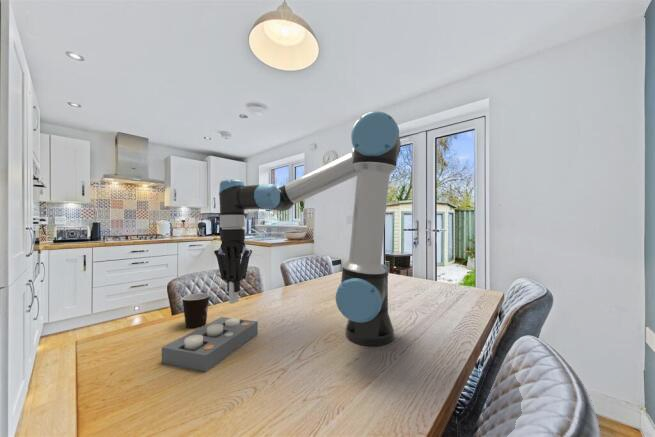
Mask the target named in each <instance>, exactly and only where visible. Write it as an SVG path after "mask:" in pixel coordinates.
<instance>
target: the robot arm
mask: <svg viewBox="0 0 655 437" xmlns="http://www.w3.org/2000/svg"><path fill="white" fill-rule="evenodd" d="M350 135H351V136H350V137H351V144H352V147H353V148H352V149H351V151H350V153H348V154H345V155H344V156H342V157H340V158H337V159H335V160H333V161H331V162H329V163H327V164H325V165H323V166H321V167H319V168H317V169H314V170H313V171H310V172H308V173H307V174H304V175H302V176H300V177H298V178H296V179H294V180H292V181H290V182H287V183H286V184H284V185H282V186H280V187H277V186H276V185H275V184H273V183H272V184H271V183H261V184H252V185H245V184H244V181H242V180H240V179H223V180H221V181H220V183H219V192H218V196H219V227H220V228H221V229H220V230H219V234H220V235H219V240H220V242H221V244H220V247H219V248H218V249H215V250H214V251H213V254H214V255H215V257H216V260H217V264H218V270H219V274H220V278H221V280H222V281H225V282H226V291H227V292H228V303H229V304H236V303H237V302H239V292H240V291H241V281H243V280H245V279H246V278H247V271H248V267H249V261H250V257H251V256H252V254H253V250H252V249H248V248H247V247H246V243H245V240H246V230H245V228H244V227H245V226H246V225H245V224H246V222H245V210H269V211H279V212H286V211H289V210H290V209H291V208H293V206H294V205H296V204H298V203H300V202H302V201H305V200H307V199H309V198H312V197H313V196H315V195H318V194H320V193H322V192H324V191H326V190H329V189H330V188H333V187H335V186H337V185H340V184H342V183H344V182H346V181H348V180H350V179H353V178H355V177H356V183H355V193H354V203H353V206H354V207H353V215H352V226H351V237H350V245H349V246H350V247H349V254H348V255H349V258H348V261H346V262H345V263H344V264H342V271H341V279H340V281H341V282H340V283H339V285H338V287H337V290H336V293H335V303H336V306H337V309H338V310H339V312H340V313H341V314H342V315H343V317H345V319H346V318H347V322H346V327H345V335H346V336H345V337H346V338H347V339H348V340H349V341H351V342H353V343H355V344H359V345H363V346H370V347H373V346H374V347H375V346H376V347H377V346H384V345H388V344H390V343H391V342H392V341H394V338H395V337H394V336H395V335H394V332H395V331H394V327H393V324H392V320H391V318H390V314H389V292H388V291H389V290H388V289H389V283H388V282H389V277H388V276H389V271H388V266H387V265H386V264H382V254H383V253H382V252H383V245H384V244H383V242H384V236H385V235H384V234H385V225H386V224H385V223H386V216H387V215H386V213H387V203H388V195H389V194H388V193H389V186H390V185H389V183H390V182H389V181H390V175H391V174H392V173H394V171H395V170H397V163H398V162H397V161H398V157H399V155H400V152H401V148H402V145H401V140H400V129H399V126H398V124H397V122H396V121H395V119H394V118H393V116H391V115H390V114H387V113H386V112H382V111H369V112H367V113H365V114H363V115H362V116H360V118H359V119H357V120H356V122H355V123H354V124H353V126H352V129H351V134H350Z"/></svg>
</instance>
